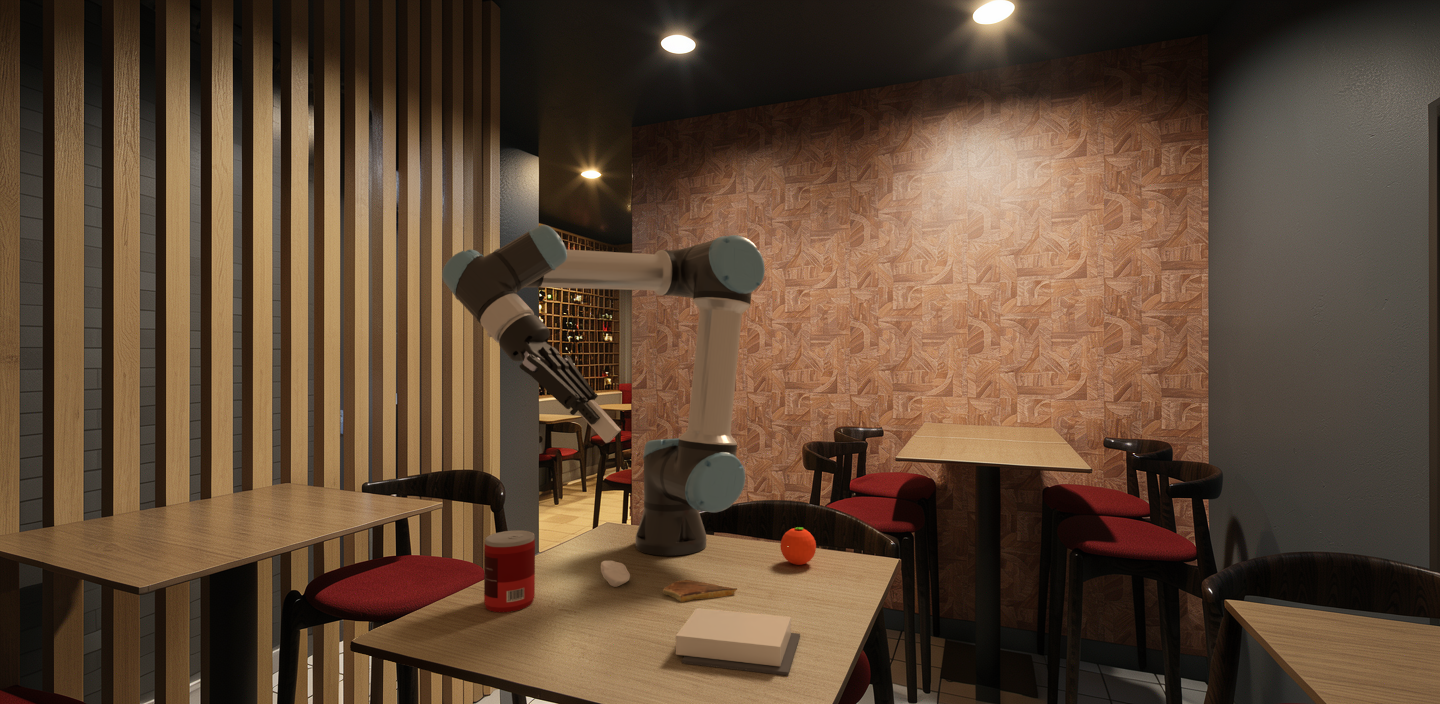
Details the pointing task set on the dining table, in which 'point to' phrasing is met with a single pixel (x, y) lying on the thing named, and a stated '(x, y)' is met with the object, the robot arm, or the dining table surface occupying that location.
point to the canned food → (509, 570)
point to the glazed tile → (735, 636)
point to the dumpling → (614, 573)
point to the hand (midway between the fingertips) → (613, 436)
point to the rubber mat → (780, 670)
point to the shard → (696, 590)
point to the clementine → (798, 546)
